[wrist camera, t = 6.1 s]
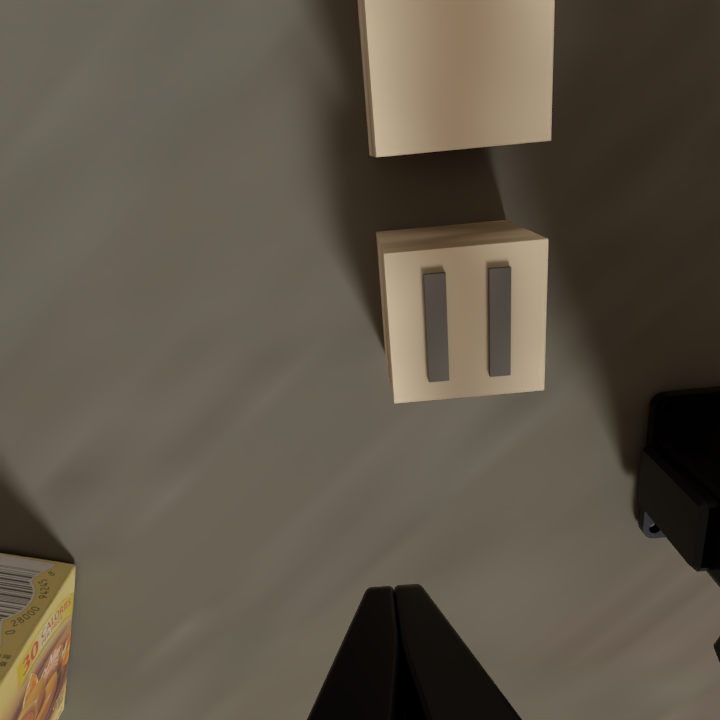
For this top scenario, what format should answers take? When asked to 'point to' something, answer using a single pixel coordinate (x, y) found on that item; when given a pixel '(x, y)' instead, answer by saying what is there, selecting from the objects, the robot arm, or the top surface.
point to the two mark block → (463, 309)
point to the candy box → (34, 636)
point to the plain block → (456, 73)
